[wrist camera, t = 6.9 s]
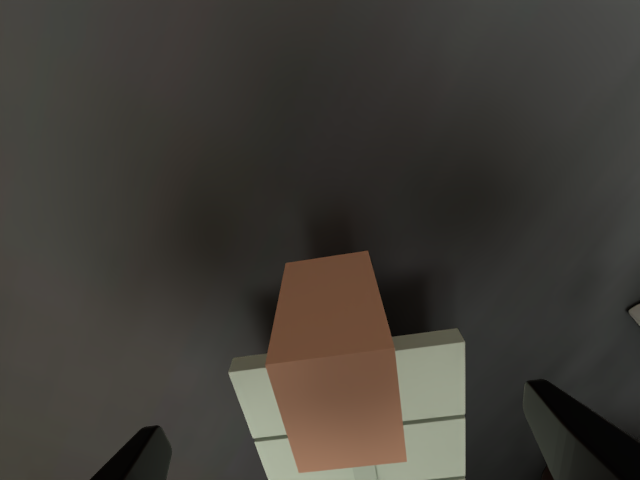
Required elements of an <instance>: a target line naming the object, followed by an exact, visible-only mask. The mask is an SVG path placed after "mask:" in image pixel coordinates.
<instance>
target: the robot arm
mask: <svg viewBox="0 0 640 480" xmlns="http://www.w3.org/2000/svg"><path fill="white" fill-rule="evenodd" d="M523 410H524V414H525V416H526V419H527V421H528V423H529V425H530V428H531V430H532V432H533V434H534V436H535V439H536V441H537V443H538V445H539V447H540V450H541V452H542V454H543V456H544V458H545V461H546V463H547V465H548V467H549V470H550V472H551V474H552V476H553V478H554V480H640V442H639V441H637V440H636V439H634V438H633V437H631V436H630V435H628V434H627V433H625V432H624V431H622V430H621V429H619V428H618V427H616V426H615V425H613V424H612V423H610V422H609V421H607V420H606V419H604V418H603V417H601V416H600V415H598V414H597V413H595V412H594V411H592V410H591V409H589V408H588V407H586V406H585V405H583V404H582V403H580V402H579V401H577V400H576V399H574V398H573V397H571V396H570V395H568V394H567V393H565V392H564V391H562V390H561V389H559V388H558V387H556V386H555V385H553V384H552V383H550V382H549V381H547V380H544V379H538V380H530V381H527V382H526V383H525V386H524V396H523ZM171 455H172V448H171V445H170V443H169V441H168V439H167V437H166V435H165V433H164V431H163V429H162V428H161V427H160V426H158V425H156V426H147V427H144V428H142V429H140V430H139V431H138V432H137V433H136V434H135V435H134V436H133V437H132V438H131V439H130V440H129V441H128V442H127V443H126V444H125V445H124V446H123V447H122V448H121V449H120V450H119V451H118V452H117V453H116V454H115V455H114V456H113V457H112V458H111V459H110V460H109V461H108V462H107V463H106V464H105V465H104V466H103V467H102V468H101V469H100V470H99V471H98V472H97V473H96V474H95V475H94V476H93V477H92V478H91V479H90V480H166V479H167V474H168V469H169V465H170V460H171Z"/></svg>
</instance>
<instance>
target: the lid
mask: <svg viewBox="0 0 640 480" xmlns="http://www.w3.org/2000/svg"><path fill="white" fill-rule="evenodd" d="M228 373H229V376H230V378H231V381H232V384H233V386H234V389H235V392H236V394H237V397H238V400H239V402H240V405H241V408H242V410H243V413H244V416H245V419H246V421H247V424H248V427H249V429H250V432H251V435H252V437H253V438H255V441H254V443H255V445H256V448H257V451H258V453H259V456H260V459H261V461H262V464H263V467H264V469H265V472H266V475H267V478H268V480H465V416H464V414H465V341H464V339H463V337H462V335H461V334H460V332H459V330H458V328H455V329H448V330H440V331H432V332H425V333H417V334H410V335H402V336H395V337H392V336H391V333H390V329H389V325H388V322H387V318H386V314H385V311H384V307H383V303H382V300H381V296H380V293H379V289H378V285H377V282H376V278H375V274H374V271H373V267H372V263H371V260H370V256H369V252H368V251H362V252H355V253H348V254H342V255H335V256H329V257H322V258H316V259H309V260H302V261H296V262H289V263H286V264H285V269H284V274H283V279H282V284H281V288H280V293H279V298H278V303H277V308H276V313H275V318H274V323H273V328H272V333H271V338H270V343H269V348H268V353H266V354H259V355H251V356H244V357H236V358H233V360H232V363H231V366H230V369H229V372H228Z"/></svg>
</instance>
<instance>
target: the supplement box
mask: <svg viewBox="0 0 640 480" xmlns="http://www.w3.org/2000/svg"><path fill="white" fill-rule="evenodd" d="M629 314H630V315H631V316H632V317H633V318H634V320H635V321H636V322H637V323H638V325H639V326H640V304H638V305H636V306H634V307H633V308H631V309H630V310H629Z"/></svg>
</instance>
